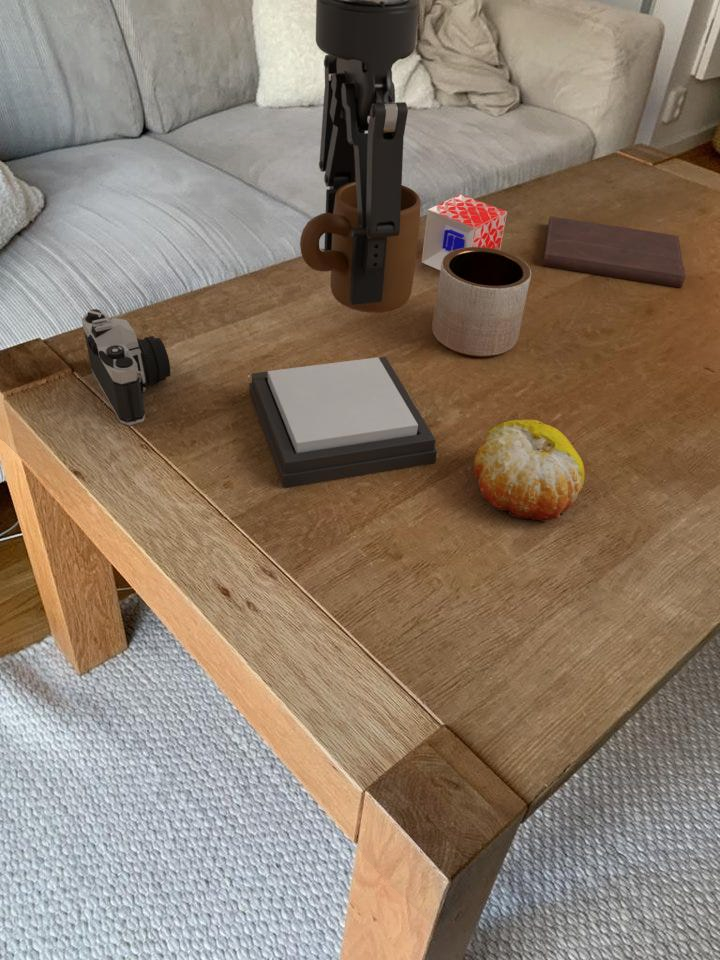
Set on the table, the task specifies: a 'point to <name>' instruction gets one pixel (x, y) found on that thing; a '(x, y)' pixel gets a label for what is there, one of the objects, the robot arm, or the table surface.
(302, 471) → the scale
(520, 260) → the planter
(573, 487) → the fruit
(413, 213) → the mug
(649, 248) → the notebook
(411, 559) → the table surface
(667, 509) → the table surface
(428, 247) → the red and white box
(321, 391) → the scale pan
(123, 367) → the camera
